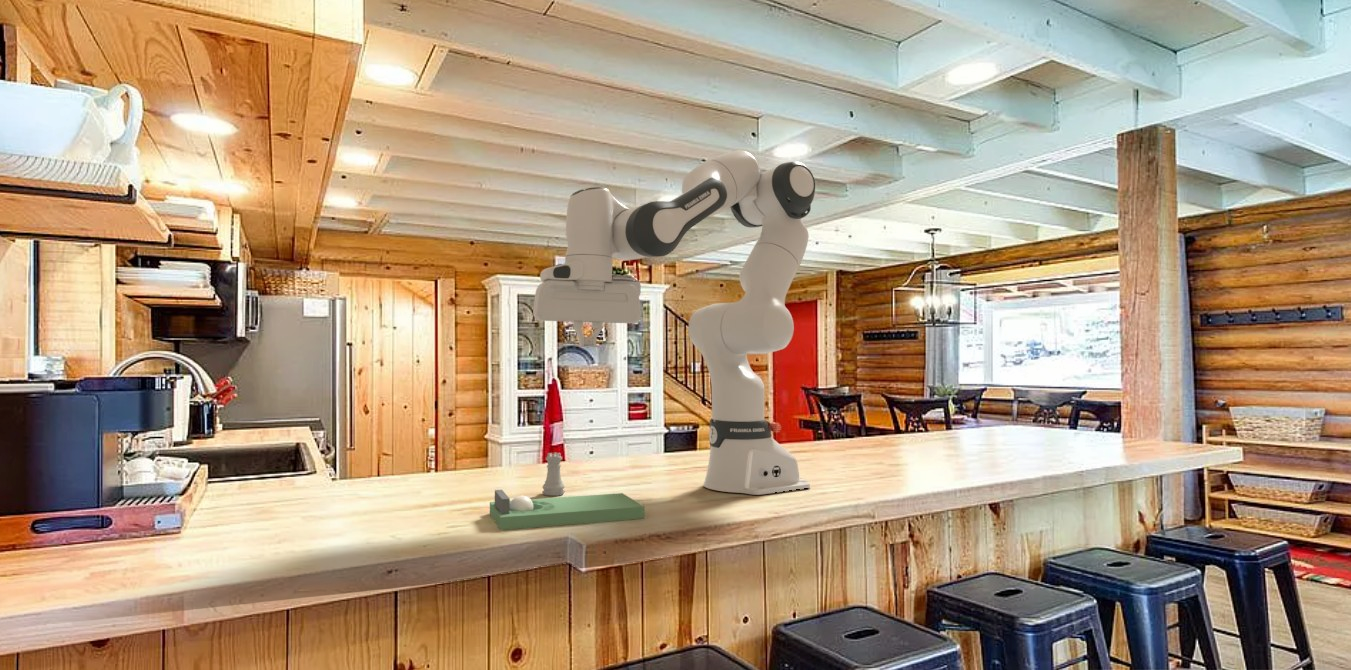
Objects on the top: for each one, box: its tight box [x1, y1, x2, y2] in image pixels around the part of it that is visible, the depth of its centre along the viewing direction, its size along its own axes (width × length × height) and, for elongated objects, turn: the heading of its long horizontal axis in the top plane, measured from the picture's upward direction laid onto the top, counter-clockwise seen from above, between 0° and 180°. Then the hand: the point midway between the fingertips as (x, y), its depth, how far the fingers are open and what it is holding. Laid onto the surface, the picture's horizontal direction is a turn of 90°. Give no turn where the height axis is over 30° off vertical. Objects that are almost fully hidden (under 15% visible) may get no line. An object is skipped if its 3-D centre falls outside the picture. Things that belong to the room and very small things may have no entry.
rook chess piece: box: [541, 452, 566, 497], centre depth 140 cm, size 4×4×8 cm
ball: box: [510, 494, 533, 511], centre depth 119 cm, size 4×4×4 cm
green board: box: [489, 489, 645, 531], centre depth 122 cm, size 24×12×4 cm, turn 112°
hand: (587, 346), depth 134 cm, fingers closed
